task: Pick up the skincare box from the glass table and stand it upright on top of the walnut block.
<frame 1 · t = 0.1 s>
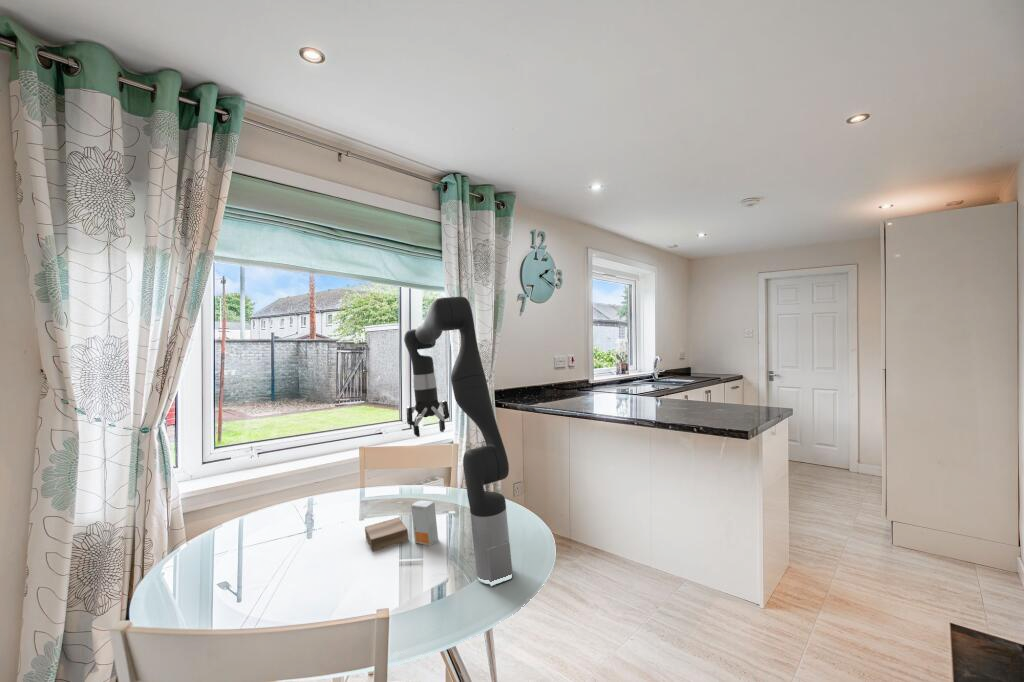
hand: (430, 433, 156), 29 cm above the table, fingers open, 8 cm apart
skincare box: (426, 542, 140), on the table
walnut block: (387, 540, 144), on the table
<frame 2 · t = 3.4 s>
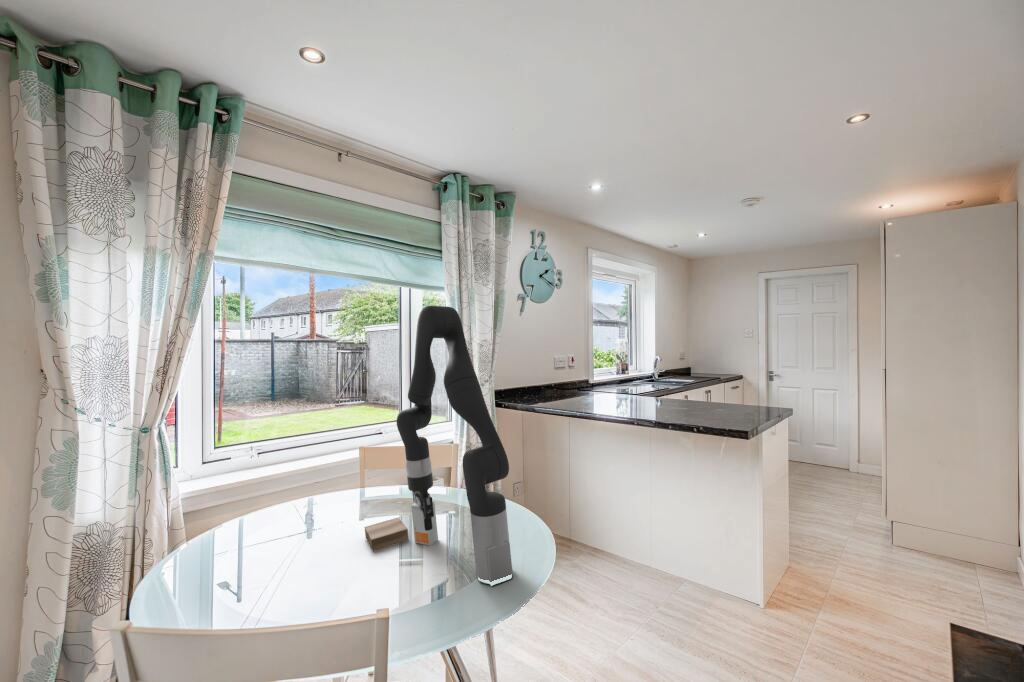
hand: (425, 525, 140), 5 cm above the table, fingers closed on skincare box, 7 cm apart
skincare box: (426, 542, 140), on the table, touching gripper
everything else where it was.
when the fingers open (10 cm above the table, at t = 8.4 s): skincare box drops 1 cm, resting on walnut block.
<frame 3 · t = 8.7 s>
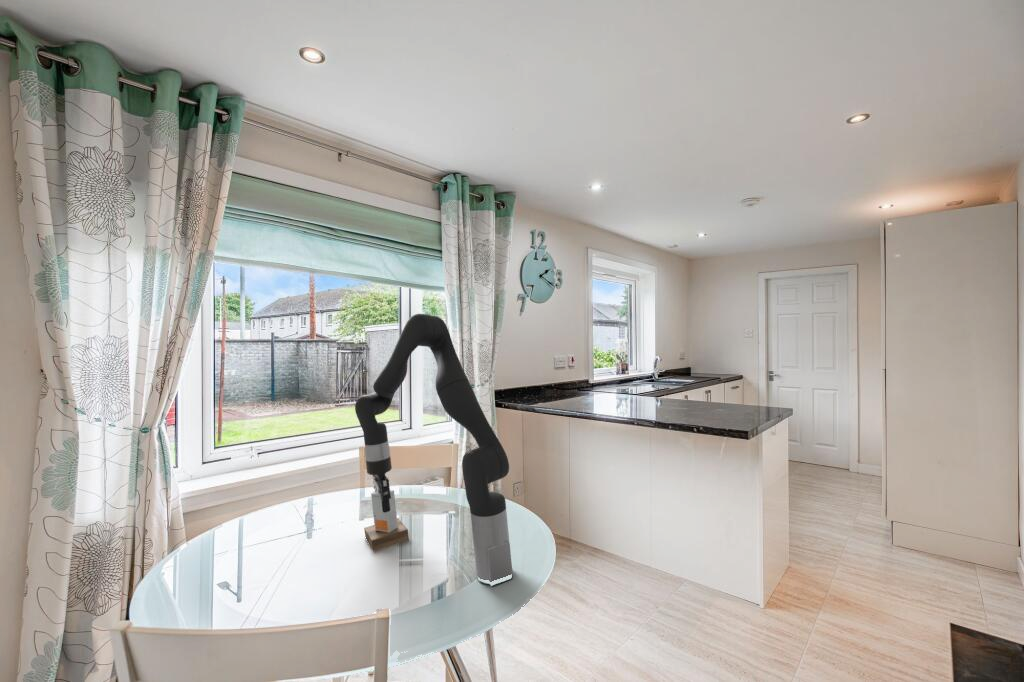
hand: (383, 507, 144), 10 cm above the table, fingers open, 8 cm apart
skincare box: (386, 529, 144), point 3 cm above the table, touching gripper, walnut block
walnut block: (387, 540, 144), on the table, touching skincare box
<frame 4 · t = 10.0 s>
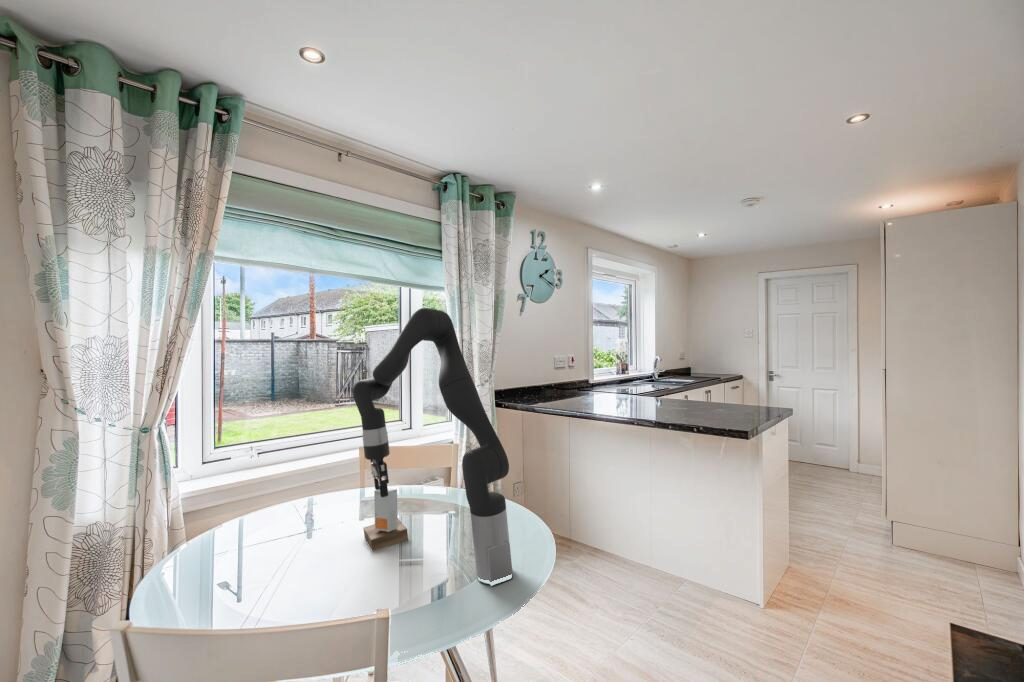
hand: (381, 492, 144), 15 cm above the table, fingers open, 8 cm apart
skincare box: (386, 530, 142), point 4 cm above the table, touching walnut block
everything else where it was.
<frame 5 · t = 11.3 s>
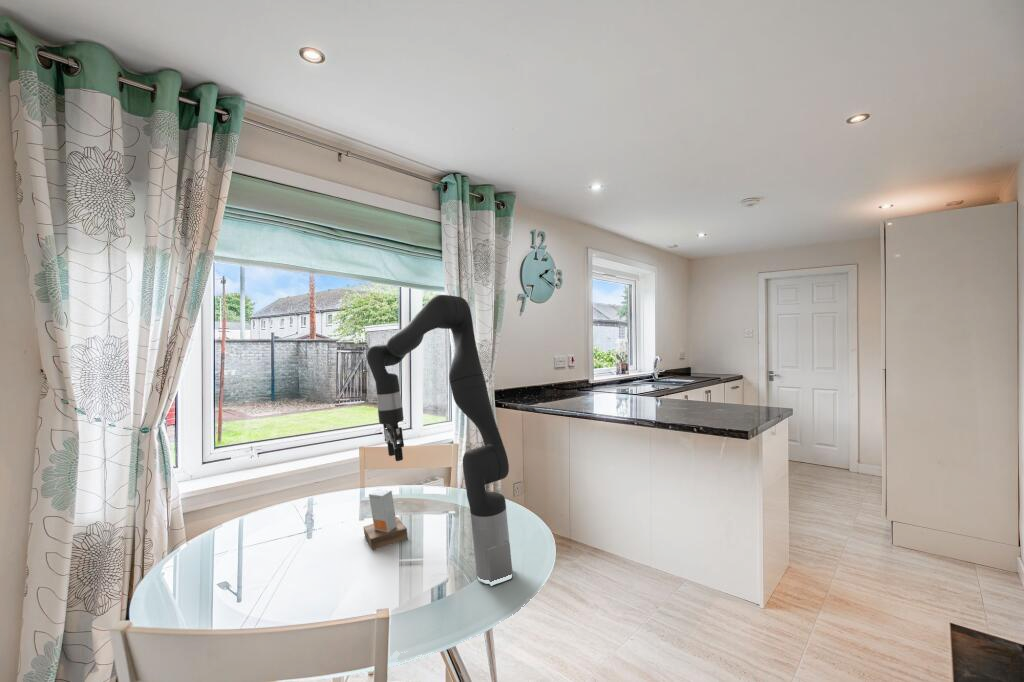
hand: (395, 457, 145), 25 cm above the table, fingers open, 8 cm apart
skincare box: (386, 529, 144), point 3 cm above the table, touching walnut block
everything else where it was.
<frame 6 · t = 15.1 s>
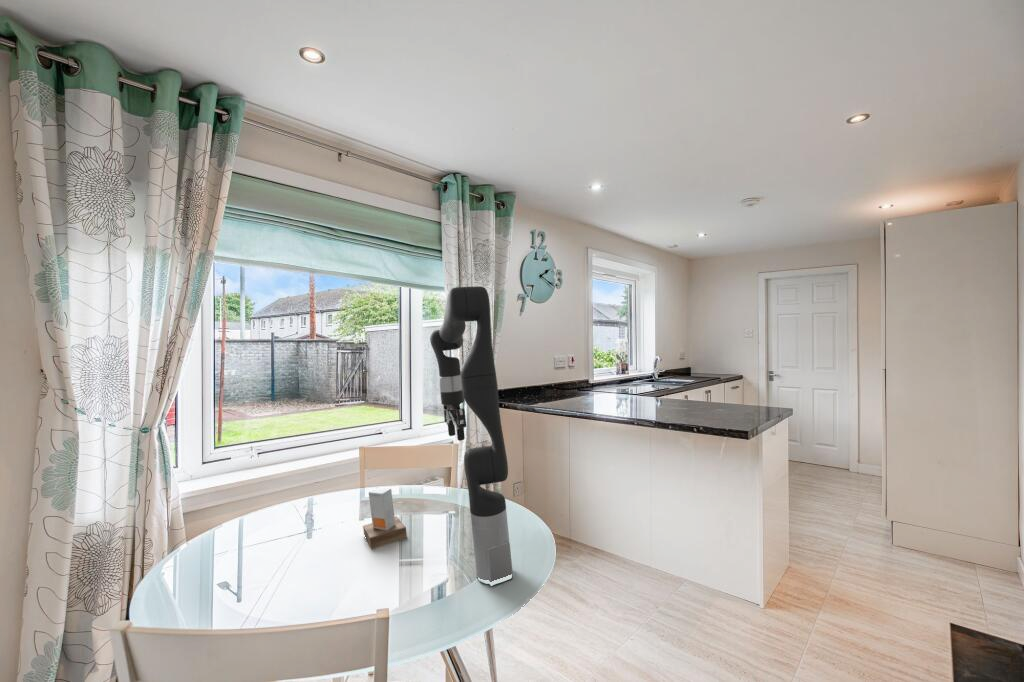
hand: (456, 437, 151), 28 cm above the table, fingers open, 8 cm apart
skincare box: (384, 527, 146), point 3 cm above the table, touching walnut block
at the end: skincare box 0.4 cm off-centre on the walnut block, point 3.9 cm above the walnut block's base; skincare box tilted 1°; the gripper is holding nothing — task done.
